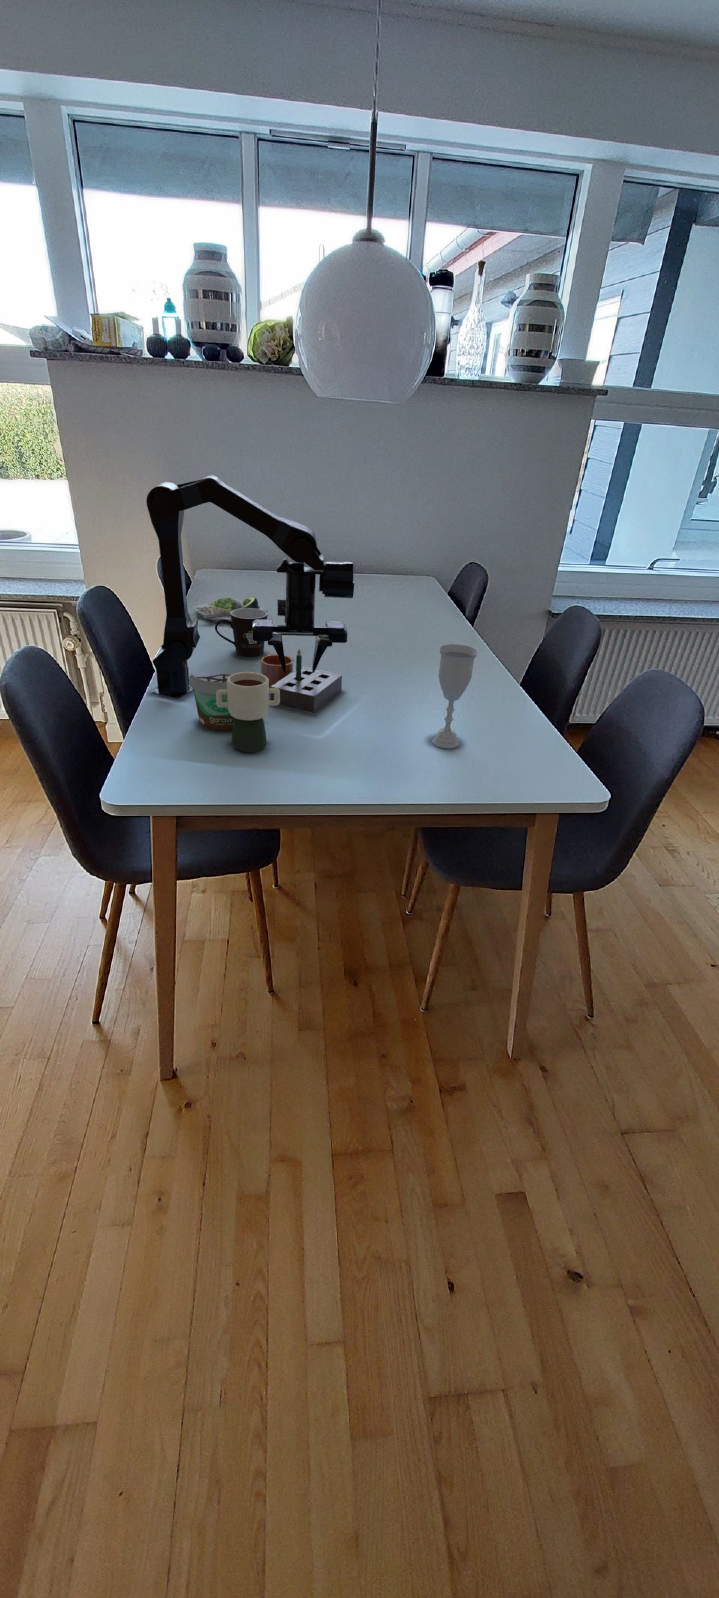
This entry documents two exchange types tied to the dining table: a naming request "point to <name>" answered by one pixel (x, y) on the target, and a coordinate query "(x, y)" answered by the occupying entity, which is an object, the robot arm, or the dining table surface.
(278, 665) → the cup
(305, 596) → the robot arm
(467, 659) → the chalice
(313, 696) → the pen block
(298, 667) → the pencil
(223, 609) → the salad plate
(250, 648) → the coffee mug
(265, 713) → the character mug
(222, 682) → the food container
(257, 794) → the dining table surface
